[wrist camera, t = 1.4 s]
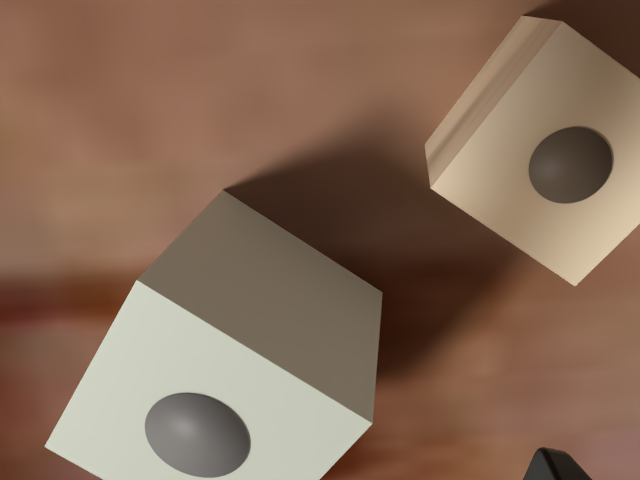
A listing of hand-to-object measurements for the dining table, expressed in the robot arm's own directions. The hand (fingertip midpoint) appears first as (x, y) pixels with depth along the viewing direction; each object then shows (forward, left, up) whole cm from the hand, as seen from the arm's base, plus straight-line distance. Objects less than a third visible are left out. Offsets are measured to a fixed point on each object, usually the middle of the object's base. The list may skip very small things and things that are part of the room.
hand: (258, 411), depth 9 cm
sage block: (0, +7, -13) cm, 14 cm away
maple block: (-4, -5, -13) cm, 14 cm away
